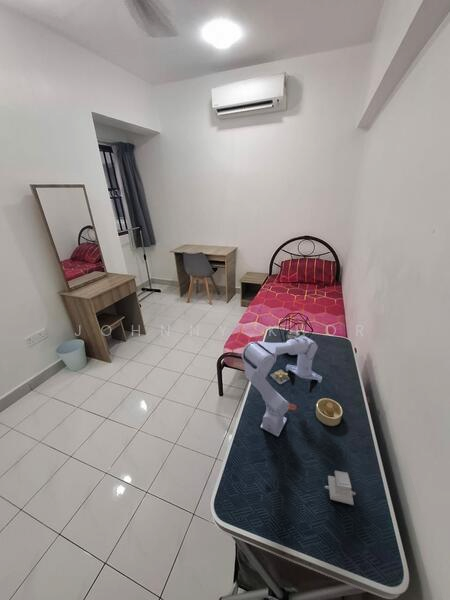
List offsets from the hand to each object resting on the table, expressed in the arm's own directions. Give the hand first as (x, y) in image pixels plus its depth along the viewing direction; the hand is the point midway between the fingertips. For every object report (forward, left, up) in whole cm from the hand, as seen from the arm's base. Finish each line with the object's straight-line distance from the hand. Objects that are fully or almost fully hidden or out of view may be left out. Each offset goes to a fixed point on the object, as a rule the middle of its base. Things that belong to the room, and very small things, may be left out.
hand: (301, 387), depth 104 cm
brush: (+1, -12, -10) cm, 15 cm away
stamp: (-27, -22, -11) cm, 36 cm away
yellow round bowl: (+1, -12, -10) cm, 16 cm away
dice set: (+12, +14, -11) cm, 21 cm away
